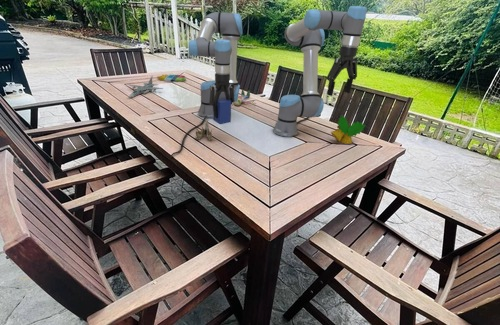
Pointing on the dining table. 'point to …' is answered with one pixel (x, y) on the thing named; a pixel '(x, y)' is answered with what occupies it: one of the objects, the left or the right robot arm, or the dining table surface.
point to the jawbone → (204, 132)
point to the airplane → (143, 88)
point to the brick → (223, 111)
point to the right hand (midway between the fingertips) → (338, 93)
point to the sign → (172, 78)
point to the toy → (243, 98)
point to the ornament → (347, 130)
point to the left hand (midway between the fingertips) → (222, 116)
